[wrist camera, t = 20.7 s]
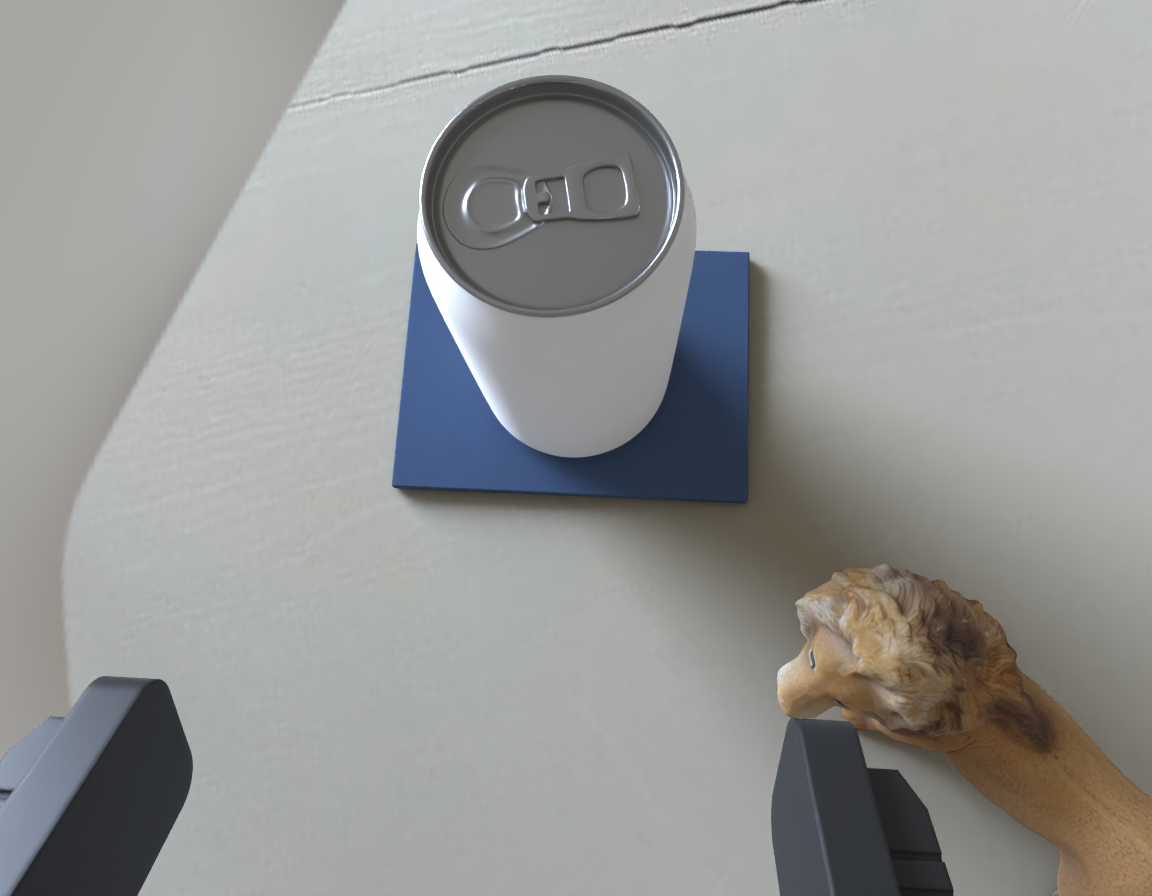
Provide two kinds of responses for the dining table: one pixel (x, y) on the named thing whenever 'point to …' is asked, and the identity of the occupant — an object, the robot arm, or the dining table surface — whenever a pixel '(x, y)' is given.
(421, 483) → the blue mat
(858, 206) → the dining table surface
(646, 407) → the can
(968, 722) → the lion figurine
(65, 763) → the robot arm
